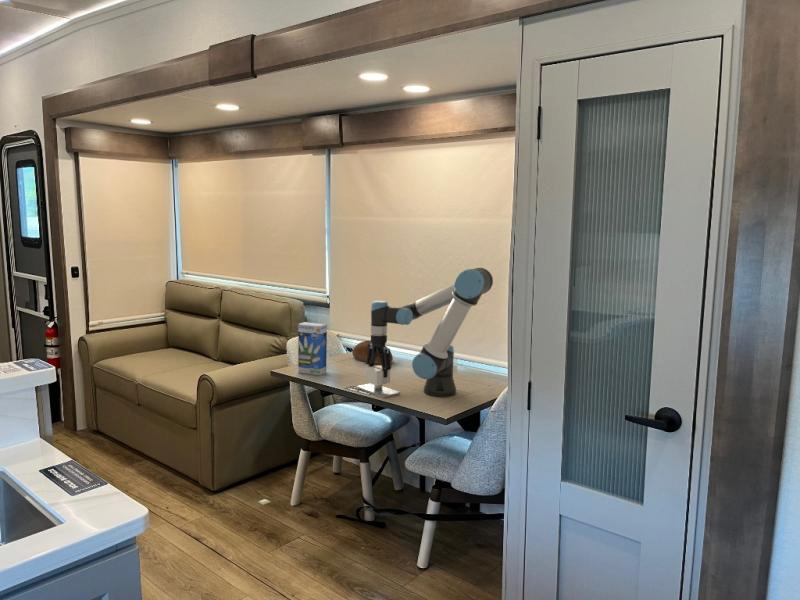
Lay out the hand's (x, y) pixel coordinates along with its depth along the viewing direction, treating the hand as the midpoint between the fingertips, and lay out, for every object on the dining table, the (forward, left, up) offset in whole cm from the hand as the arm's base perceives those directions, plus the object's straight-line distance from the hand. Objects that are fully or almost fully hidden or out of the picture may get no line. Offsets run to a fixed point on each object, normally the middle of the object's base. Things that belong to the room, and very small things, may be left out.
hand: (378, 381), depth 281 cm
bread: (+49, -35, -5) cm, 60 cm away
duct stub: (0, 0, -5) cm, 5 cm away
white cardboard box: (0, 0, 0) cm, 0 cm away
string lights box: (+47, +6, -5) cm, 48 cm away
